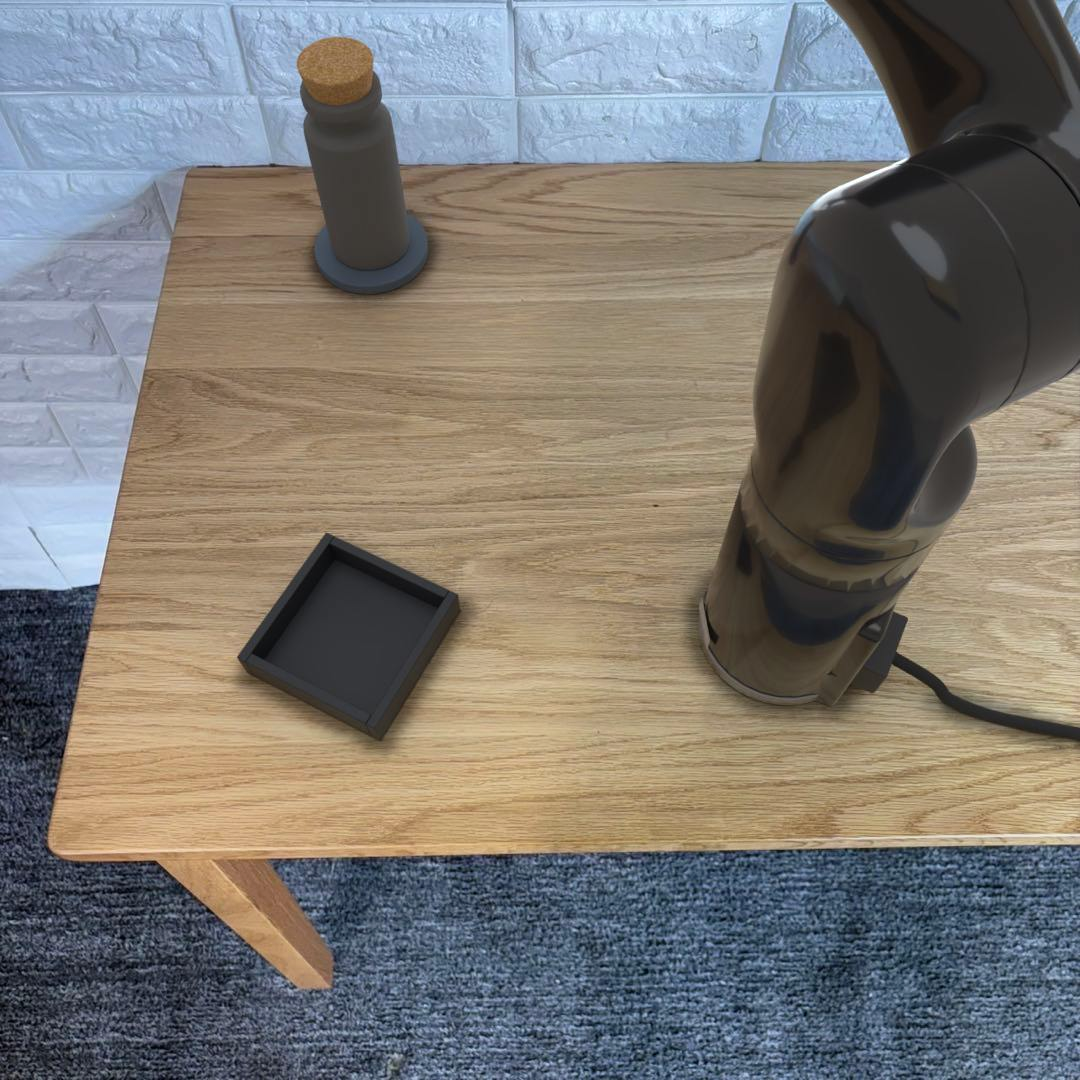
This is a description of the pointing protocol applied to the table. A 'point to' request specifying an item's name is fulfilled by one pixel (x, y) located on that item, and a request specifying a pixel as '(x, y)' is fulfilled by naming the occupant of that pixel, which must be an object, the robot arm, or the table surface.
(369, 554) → the tray
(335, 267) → the mat
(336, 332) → the table surface
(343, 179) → the bottle
